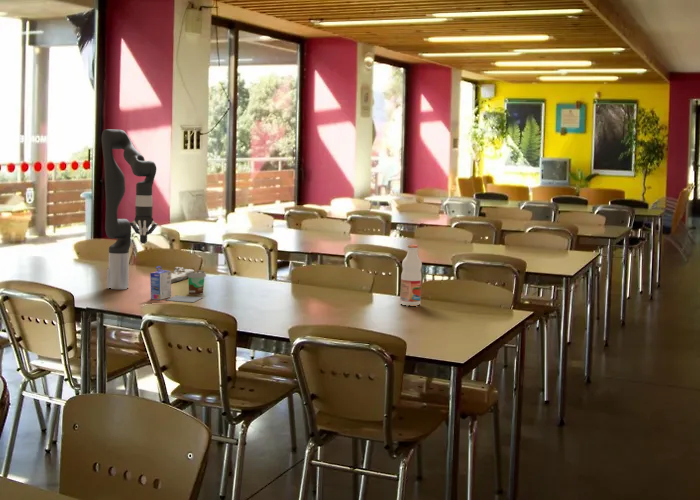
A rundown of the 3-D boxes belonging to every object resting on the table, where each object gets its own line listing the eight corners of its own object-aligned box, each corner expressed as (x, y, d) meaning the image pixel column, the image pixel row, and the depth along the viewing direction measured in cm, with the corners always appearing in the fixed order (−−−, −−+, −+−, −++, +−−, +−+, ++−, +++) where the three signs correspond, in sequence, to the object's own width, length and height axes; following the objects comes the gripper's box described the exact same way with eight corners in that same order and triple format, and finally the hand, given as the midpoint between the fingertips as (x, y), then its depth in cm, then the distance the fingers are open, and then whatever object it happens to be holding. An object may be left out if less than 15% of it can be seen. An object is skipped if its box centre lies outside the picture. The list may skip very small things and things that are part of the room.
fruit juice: (402, 302, 423) (405, 243, 420) (422, 304, 420) (425, 244, 417) (397, 305, 414) (400, 245, 411) (417, 307, 411) (420, 246, 408)
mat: (165, 300, 404) (165, 300, 404) (176, 296, 417) (176, 295, 417) (193, 302, 402) (193, 301, 402) (203, 297, 414) (203, 297, 414)
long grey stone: (155, 285, 452) (174, 288, 451) (156, 275, 451) (174, 277, 450) (181, 272, 486) (198, 274, 484) (181, 263, 485) (199, 265, 484)
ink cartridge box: (161, 295, 416) (161, 264, 414) (171, 297, 414) (172, 265, 412) (149, 299, 406) (150, 267, 405) (160, 300, 404) (160, 268, 403)
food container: (200, 295, 421) (200, 274, 420) (187, 294, 422) (188, 273, 421) (209, 291, 433) (209, 270, 432) (197, 290, 434) (197, 269, 433)
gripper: (126, 205, 404) (126, 243, 406) (154, 206, 402) (154, 245, 404) (133, 204, 411) (133, 241, 413) (161, 205, 409) (160, 243, 411)
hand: (143, 243), depth 409 cm, fingers closed
